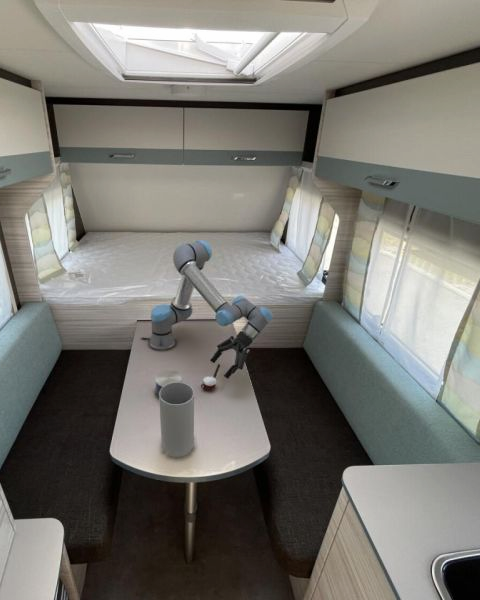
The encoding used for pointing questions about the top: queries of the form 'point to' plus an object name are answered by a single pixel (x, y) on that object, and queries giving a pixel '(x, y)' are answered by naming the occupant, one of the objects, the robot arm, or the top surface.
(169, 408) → the cylinder vase
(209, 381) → the cocoa
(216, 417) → the top surface
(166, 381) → the beige and blue cylinder
